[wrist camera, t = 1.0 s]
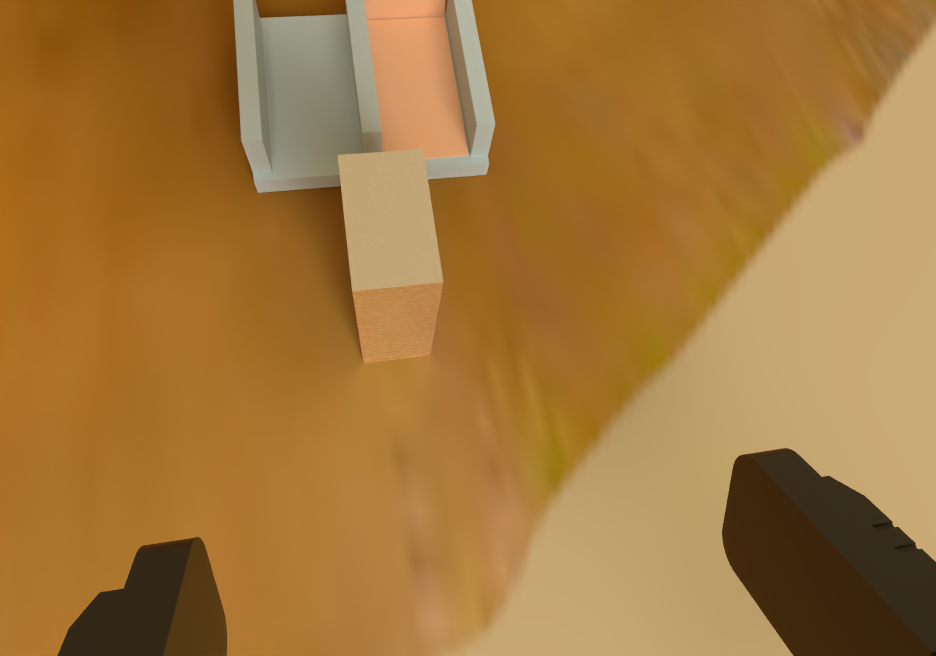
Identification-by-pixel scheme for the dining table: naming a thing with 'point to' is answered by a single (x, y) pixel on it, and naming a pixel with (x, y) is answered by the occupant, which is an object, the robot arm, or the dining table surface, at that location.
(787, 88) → the dining table surface
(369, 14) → the slot rack
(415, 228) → the panel
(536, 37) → the dining table surface
